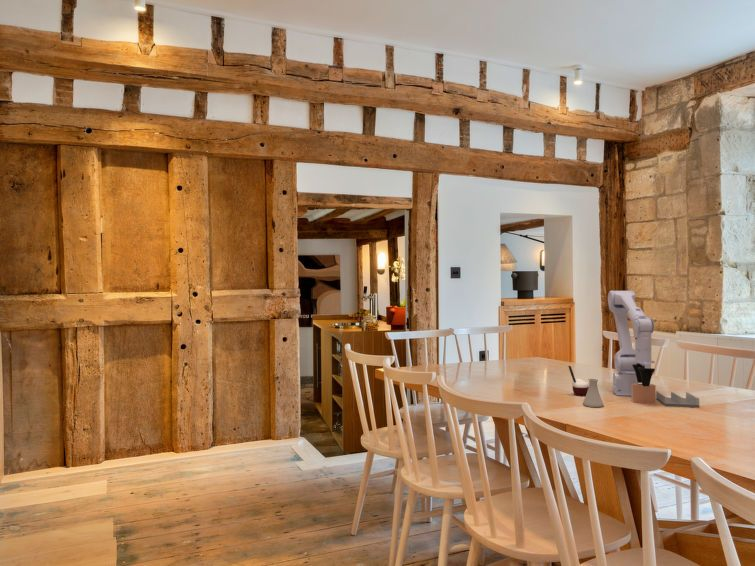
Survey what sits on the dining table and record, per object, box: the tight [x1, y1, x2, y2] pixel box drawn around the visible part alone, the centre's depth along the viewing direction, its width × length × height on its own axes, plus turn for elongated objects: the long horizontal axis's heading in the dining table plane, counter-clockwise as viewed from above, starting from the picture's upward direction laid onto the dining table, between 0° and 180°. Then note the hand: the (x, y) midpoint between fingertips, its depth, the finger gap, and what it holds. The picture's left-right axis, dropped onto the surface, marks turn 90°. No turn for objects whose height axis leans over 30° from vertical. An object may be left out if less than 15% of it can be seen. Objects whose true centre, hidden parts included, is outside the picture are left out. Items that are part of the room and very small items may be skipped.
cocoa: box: [568, 365, 589, 397], centre depth 229 cm, size 10×6×12 cm, turn 77°
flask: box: [582, 378, 605, 408], centre depth 209 cm, size 7×7×10 cm
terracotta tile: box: [630, 383, 657, 405], centre depth 215 cm, size 8×3×7 cm, turn 78°
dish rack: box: [656, 390, 700, 409], centre depth 212 cm, size 12×12×4 cm
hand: (643, 384), depth 215 cm, fingers open, 7 cm apart
